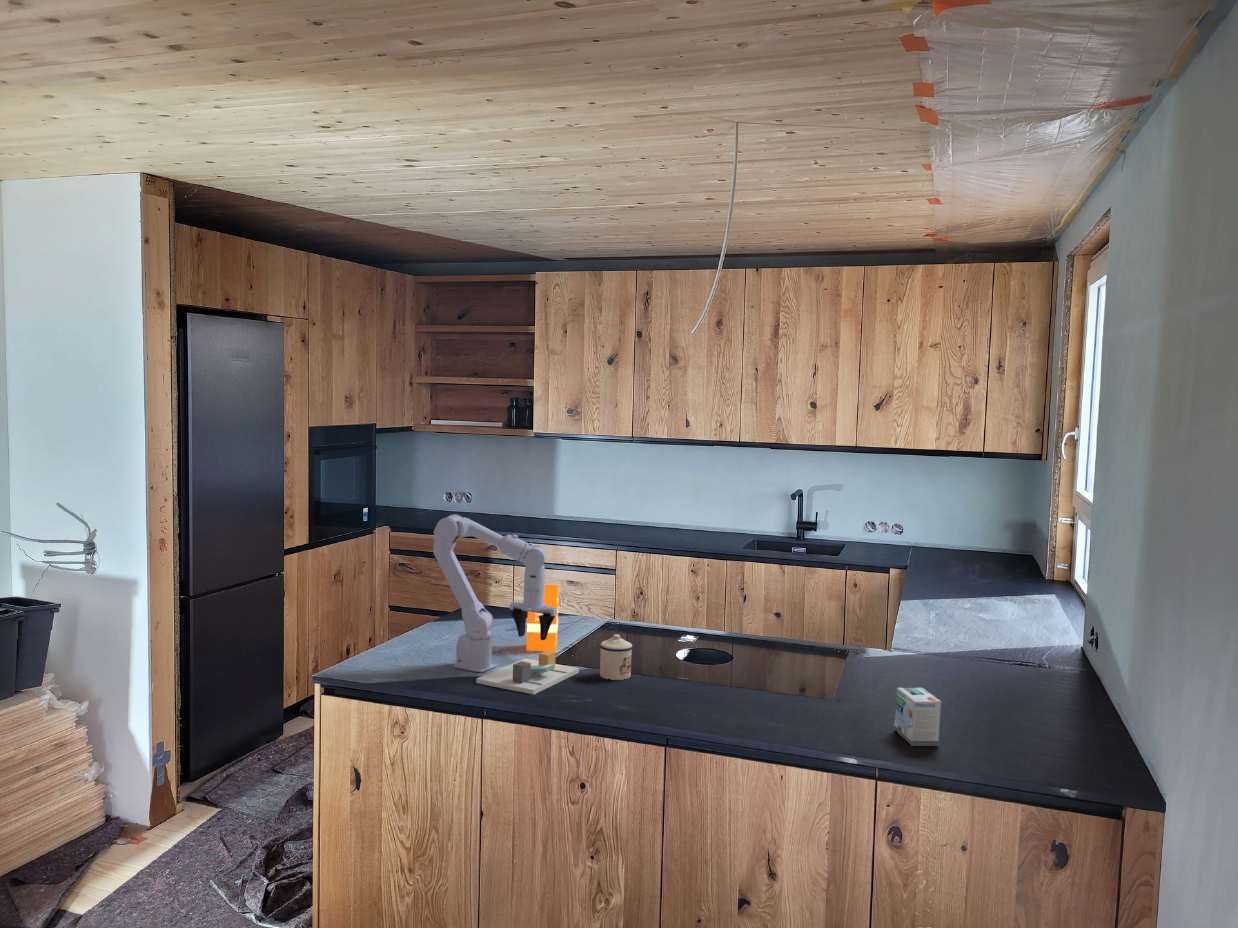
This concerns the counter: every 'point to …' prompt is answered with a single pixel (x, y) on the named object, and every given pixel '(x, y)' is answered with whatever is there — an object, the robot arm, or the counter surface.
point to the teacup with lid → (615, 658)
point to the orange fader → (547, 658)
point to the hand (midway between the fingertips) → (532, 637)
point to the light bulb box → (917, 714)
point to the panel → (534, 684)
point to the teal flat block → (541, 668)
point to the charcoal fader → (521, 671)
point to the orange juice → (534, 623)
